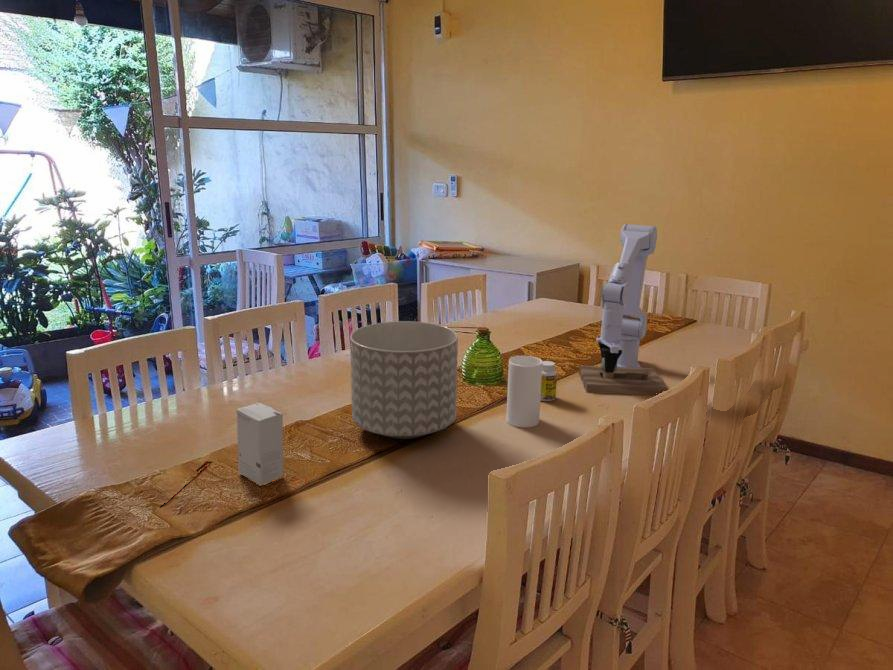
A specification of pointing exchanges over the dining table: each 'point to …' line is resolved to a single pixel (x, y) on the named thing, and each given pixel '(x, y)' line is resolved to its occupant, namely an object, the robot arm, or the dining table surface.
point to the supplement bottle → (548, 381)
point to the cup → (524, 391)
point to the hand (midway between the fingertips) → (607, 369)
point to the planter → (404, 378)
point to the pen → (202, 466)
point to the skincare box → (260, 443)
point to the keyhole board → (622, 380)
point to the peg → (607, 374)
